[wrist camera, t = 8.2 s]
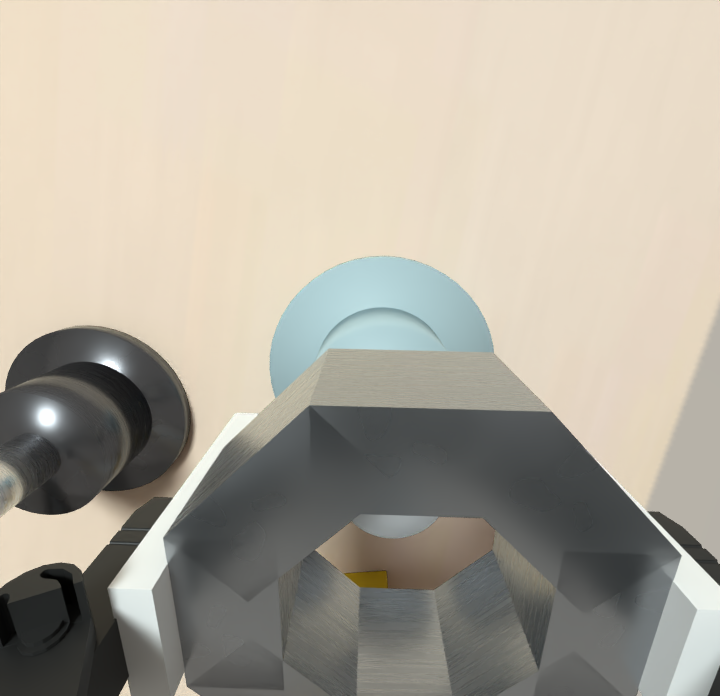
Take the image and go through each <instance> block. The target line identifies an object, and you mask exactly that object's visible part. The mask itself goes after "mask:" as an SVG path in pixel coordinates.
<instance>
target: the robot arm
mask: <svg viewBox="0 0 720 696" xmlns="http://www.w3.org/2000/svg"><path fill="white" fill-rule="evenodd" d="M257 415H258V413H235V414H234V416H233V417H232V418H231V420H230V421H229V422H228V424H227V425H226V426H225V428H224V429H223V431H222V432H221V433H220V435H219V436H218V437H217V439H216V440H215V442H214V443H213V444H212V446H211V447H210V448H209V450H208V451H207V452H206V454H205V455H204V457H203V458H202V459H201V461H200V462H199V463H198V465H197V466H196V468H195V469H194V470H193V472H192V473H191V474H190V476H189V477H188V478H187V480H186V481H185V483H184V484H183V485H182V487H181V488H180V489H179V491H178V492H177V494H176V495H175V496H174V498H163V497H154V498H153V499H152V500H150V501H149V502H147V503H146V504H144V505H143V506H142V507H140V508H139V509H137V510H136V511H135V512H134V513H133V514H132V515H131V517H130V518H129V519H128V520H127V521H126V523H125V524H124V525H123V526H122V529H121V531H118V532H117V533H116V535H115V536H114V537H113V538H112V539H111V541H110V544H109V545H106V547H105V548H104V549H103V550H102V551H101V553H100V554H99V555H98V556H97V557H96V559H95V560H94V561H93V562H92V563H91V565H90V566H89V567H88V568H87V570H86V571H85V572H84V573H83V574H82V571H81V570H80V569H79V568H78V567H76V566H75V565H74V564H68V563H55V564H48V565H43V566H41V567H38V568H35V569H33V570H30V571H28V572H25V573H23V574H22V575H20V576H18V577H17V578H15V579H13V580H11V581H10V582H8V583H6V584H5V585H4V586H3V587H2V588H0V696H119V694H120V692H121V690H122V688H123V687H124V685H125V683H126V681H127V679H128V684H129V688H130V693H131V696H174V695H175V692H176V690H177V688H178V685H179V683H180V680H181V678H182V676H183V673H184V671H185V668H184V662H183V656H182V649H181V643H180V637H179V631H178V624H177V618H176V612H175V605H174V599H173V593H172V587H171V580H170V574H169V568H168V563H167V560H166V553H165V547H164V541H163V537H164V536H165V534H166V533H167V531H168V530H169V528H170V527H171V525H172V524H173V522H174V521H175V519H176V518H177V516H178V515H179V513H180V512H181V510H182V509H183V507H184V506H185V504H186V503H187V501H188V500H189V498H190V497H191V495H192V494H193V492H194V491H195V489H196V488H197V486H198V485H199V483H200V482H201V480H202V479H203V477H204V476H205V474H206V473H207V471H208V470H209V468H210V467H211V465H212V464H213V462H214V461H215V460H216V458H217V457H218V455H219V454H220V452H221V451H222V449H223V448H224V446H225V445H226V444H228V443H229V442H230V441H231V440H232V439H233V438H234V437H235V436H236V435H237V434H238V433H239V432H240V431H241V430H242V429H244V428H245V427H246V426H247V425H248V424H249V423H250V422H251V421H252V420H253V419H254V418H255V417H256V416H257ZM591 456H592V455H591ZM592 457H593V456H592ZM593 458H594V457H593ZM594 459H595V458H594ZM595 460H596V459H595ZM596 461H597V460H596ZM597 462H598V461H597ZM598 463H599V462H598ZM599 464H600V463H599ZM600 465H601V464H600ZM601 467H602V468H603V469H604V470H605V471H606V472H607V473H608V474H609V475H610V477H611V478H612V479H613V480H614V481H615V482H616V483H617V484H618V485H619V486H620V488H621V489H622V490H623V491H624V492H625V493H626V494H627V495H628V496H629V497H630V499H631V500H632V501H633V502H634V503H635V504H636V505H637V506H638V507H639V509H640V510H641V511H642V512H643V513H644V514H645V515H646V516H647V517H648V518H649V520H650V521H651V522H652V523H653V524H654V525H655V526H656V527H657V528H658V530H659V531H660V532H661V533H662V534H663V535H664V536H665V537H666V538H667V539H668V541H669V542H670V543H671V544H672V545H673V546H674V547H675V548H676V549H677V550H678V552H679V553H680V554H681V555H682V556H681V560H680V563H679V566H678V569H677V572H676V575H675V578H674V581H673V582H672V585H671V588H670V591H669V594H668V597H667V600H666V603H665V606H664V609H663V613H662V616H661V619H660V622H659V625H658V628H657V631H656V634H655V637H654V640H653V643H652V647H651V650H650V653H649V656H648V659H647V662H646V665H645V668H644V671H643V674H642V678H641V681H640V684H639V687H638V689H639V691H640V693H641V694H642V696H720V564H718V562H717V559H715V557H714V556H712V555H711V554H710V553H709V552H708V551H707V550H706V549H703V548H702V546H701V544H700V543H699V542H698V541H697V540H696V539H695V538H693V536H692V535H690V534H689V533H688V532H687V531H686V530H685V529H684V528H683V527H682V526H680V525H679V524H677V523H675V522H674V521H672V520H671V519H669V518H667V517H666V516H664V515H663V514H661V513H660V512H648V511H646V510H645V509H644V508H643V507H642V506H641V505H640V504H639V503H638V502H637V501H636V500H635V499H634V498H633V497H632V496H631V495H630V494H629V493H628V492H627V491H626V490H625V489H624V488H623V487H622V486H621V485H620V483H619V482H618V481H617V480H616V479H615V478H614V477H613V476H612V475H611V474H610V473H609V472H608V471H607V470H606V469H605V468H604V467H603V466H602V465H601Z"/></svg>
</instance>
